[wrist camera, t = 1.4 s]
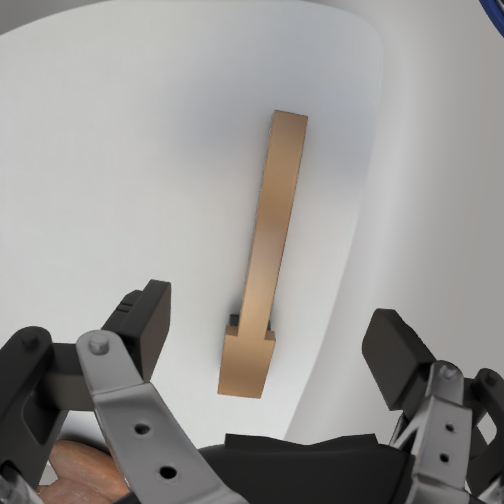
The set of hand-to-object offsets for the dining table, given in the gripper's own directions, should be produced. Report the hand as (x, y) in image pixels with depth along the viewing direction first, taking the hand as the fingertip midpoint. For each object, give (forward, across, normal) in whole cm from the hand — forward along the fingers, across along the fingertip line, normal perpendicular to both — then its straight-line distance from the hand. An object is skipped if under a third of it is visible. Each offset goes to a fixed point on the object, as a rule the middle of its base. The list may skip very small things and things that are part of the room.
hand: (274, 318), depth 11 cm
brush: (+10, 0, +2) cm, 10 cm away
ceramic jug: (+10, +19, +37) cm, 43 cm away
